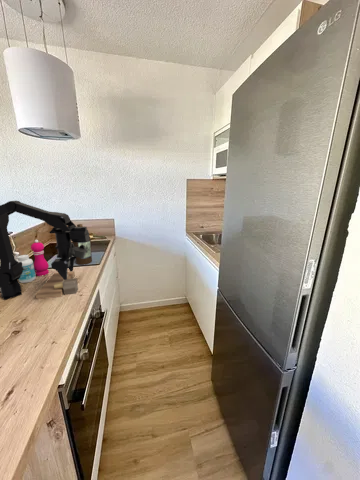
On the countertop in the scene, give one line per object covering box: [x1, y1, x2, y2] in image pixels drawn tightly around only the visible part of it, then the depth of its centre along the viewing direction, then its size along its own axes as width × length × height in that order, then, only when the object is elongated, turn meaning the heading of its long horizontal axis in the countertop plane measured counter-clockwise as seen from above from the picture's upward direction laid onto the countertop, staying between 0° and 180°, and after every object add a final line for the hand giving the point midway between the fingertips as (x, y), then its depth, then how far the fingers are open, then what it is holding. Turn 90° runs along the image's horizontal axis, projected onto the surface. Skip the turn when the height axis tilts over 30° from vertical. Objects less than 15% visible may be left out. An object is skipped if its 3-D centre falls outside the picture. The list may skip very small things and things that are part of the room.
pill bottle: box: [16, 254, 37, 284], centre depth 108 cm, size 8×7×14 cm
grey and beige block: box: [54, 277, 79, 296], centre depth 97 cm, size 4×9×6 cm, turn 102°
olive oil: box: [71, 223, 93, 266], centre depth 132 cm, size 11×11×25 cm
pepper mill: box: [30, 239, 50, 277], centre depth 115 cm, size 7×7×20 cm
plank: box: [35, 270, 76, 300], centre depth 103 cm, size 23×10×3 cm, turn 12°
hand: (68, 275), depth 96 cm, fingers open, 9 cm apart
